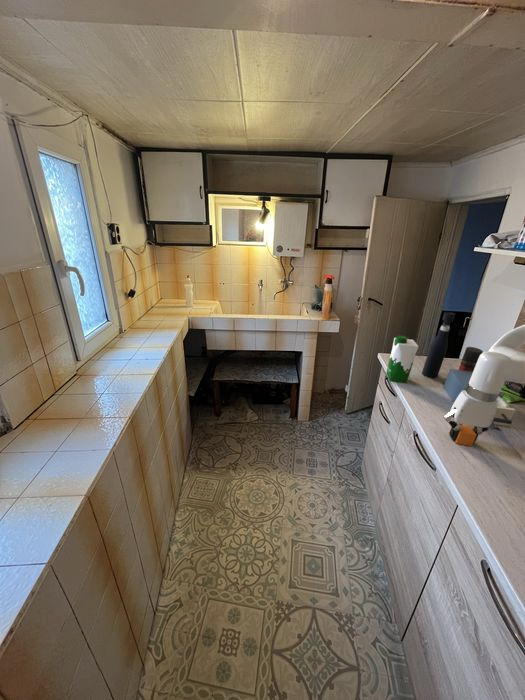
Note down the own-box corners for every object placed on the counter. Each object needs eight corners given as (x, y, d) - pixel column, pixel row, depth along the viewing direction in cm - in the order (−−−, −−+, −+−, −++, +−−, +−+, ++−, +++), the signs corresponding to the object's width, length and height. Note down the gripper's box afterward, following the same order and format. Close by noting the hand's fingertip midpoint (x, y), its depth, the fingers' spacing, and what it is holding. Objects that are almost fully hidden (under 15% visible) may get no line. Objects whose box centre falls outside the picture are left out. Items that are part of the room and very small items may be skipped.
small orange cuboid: (465, 436, 93) (470, 425, 91) (471, 446, 89) (476, 435, 87) (450, 434, 94) (455, 423, 92) (455, 443, 90) (460, 432, 88)
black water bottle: (420, 375, 130) (440, 313, 117) (422, 370, 135) (442, 309, 122) (436, 380, 127) (458, 316, 114) (437, 374, 131) (459, 312, 119)
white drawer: (514, 437, 92) (524, 419, 89) (476, 430, 94) (484, 413, 91) (486, 403, 109) (494, 387, 106) (454, 398, 111) (460, 383, 108)
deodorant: (453, 375, 131) (463, 346, 125) (467, 377, 130) (478, 347, 124) (458, 381, 126) (470, 351, 120) (473, 383, 125) (485, 353, 118)
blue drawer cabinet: (494, 414, 105) (504, 393, 101) (457, 408, 107) (465, 388, 103) (476, 391, 119) (483, 373, 115) (443, 387, 121) (450, 368, 117)
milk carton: (383, 372, 131) (393, 332, 123) (404, 374, 130) (415, 334, 121) (388, 382, 123) (399, 340, 115) (409, 384, 122) (422, 342, 114)
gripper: (507, 390, 85) (484, 436, 93) (445, 381, 88) (429, 427, 96) (521, 404, 79) (496, 453, 86) (455, 394, 82) (436, 442, 89)
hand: (461, 439), depth 91 cm, fingers closed on small orange cuboid, 4 cm apart
